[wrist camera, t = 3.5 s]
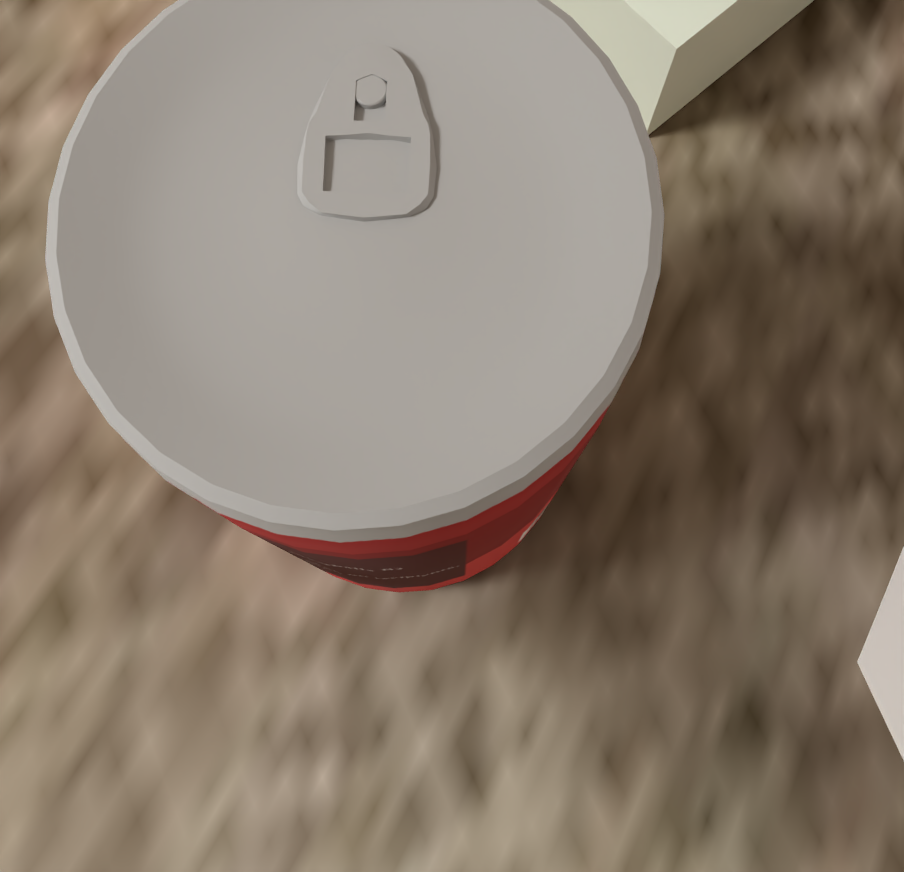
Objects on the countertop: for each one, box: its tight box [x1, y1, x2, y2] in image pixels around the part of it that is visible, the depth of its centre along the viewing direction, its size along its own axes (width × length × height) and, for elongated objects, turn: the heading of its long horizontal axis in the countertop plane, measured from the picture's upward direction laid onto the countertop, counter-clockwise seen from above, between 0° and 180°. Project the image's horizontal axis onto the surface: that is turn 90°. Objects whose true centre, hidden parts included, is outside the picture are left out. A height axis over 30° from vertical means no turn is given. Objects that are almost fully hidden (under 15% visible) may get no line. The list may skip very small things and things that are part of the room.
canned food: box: [45, 0, 664, 592], centre depth 16 cm, size 8×8×11 cm
